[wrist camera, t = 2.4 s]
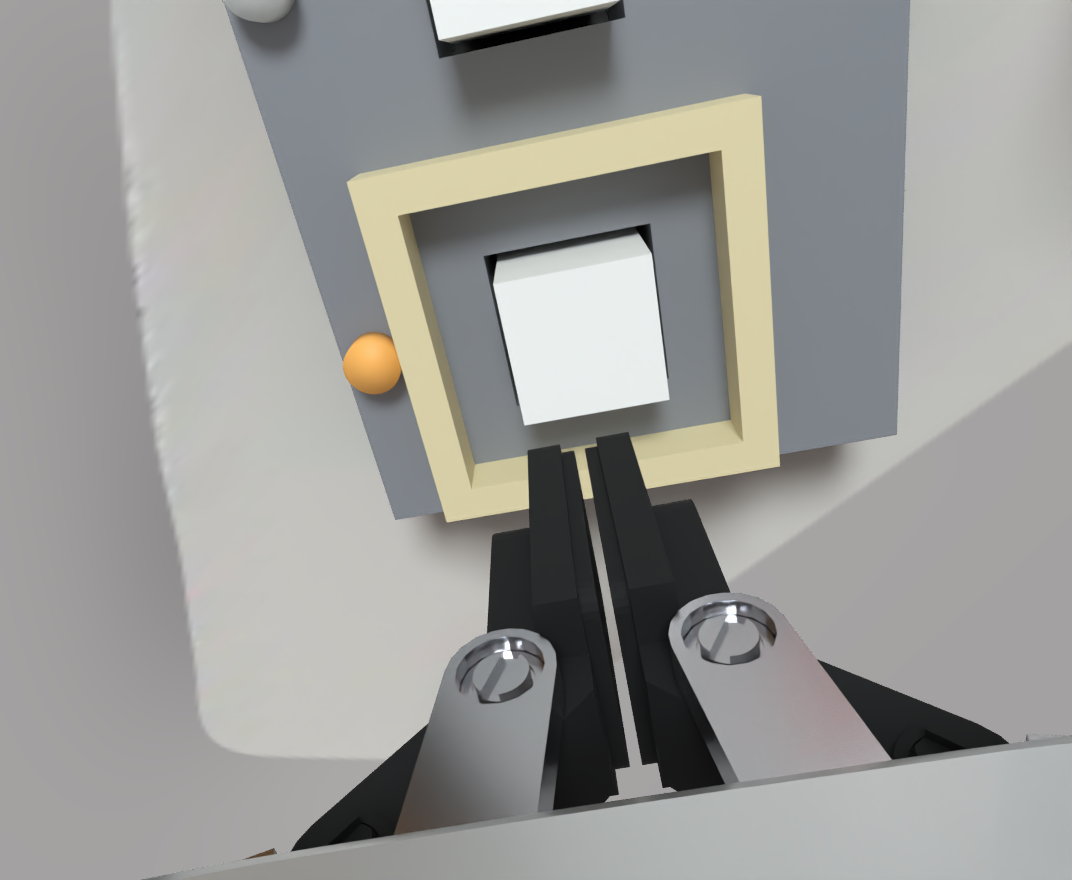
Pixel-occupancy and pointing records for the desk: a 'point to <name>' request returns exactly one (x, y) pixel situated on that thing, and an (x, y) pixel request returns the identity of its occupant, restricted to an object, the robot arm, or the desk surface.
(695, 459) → the gray panel board
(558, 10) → the block
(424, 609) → the desk surface
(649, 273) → the block
